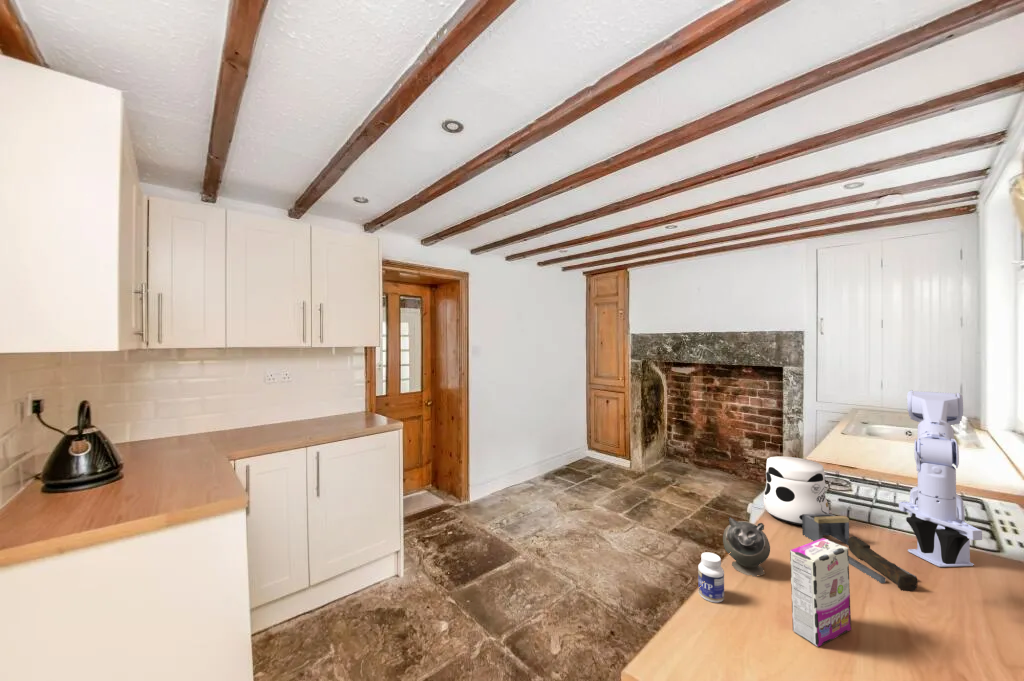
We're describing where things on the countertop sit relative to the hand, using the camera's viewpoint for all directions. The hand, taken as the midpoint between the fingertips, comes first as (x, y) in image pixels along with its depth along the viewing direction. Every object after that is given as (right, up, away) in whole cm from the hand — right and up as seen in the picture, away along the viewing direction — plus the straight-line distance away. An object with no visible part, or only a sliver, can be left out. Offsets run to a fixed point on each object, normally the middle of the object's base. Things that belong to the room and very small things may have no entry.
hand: (937, 557), depth 86 cm
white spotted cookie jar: (0, -11, +43) cm, 44 cm away
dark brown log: (-1, -11, +14) cm, 18 cm away
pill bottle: (-47, -11, +4) cm, 48 cm away
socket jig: (-1, -11, +20) cm, 23 cm away
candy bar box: (-31, -11, -7) cm, 33 cm away
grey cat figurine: (-32, -11, +15) cm, 37 cm away
